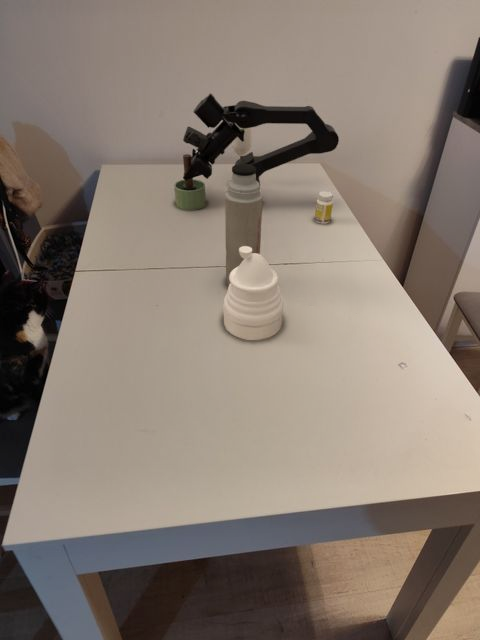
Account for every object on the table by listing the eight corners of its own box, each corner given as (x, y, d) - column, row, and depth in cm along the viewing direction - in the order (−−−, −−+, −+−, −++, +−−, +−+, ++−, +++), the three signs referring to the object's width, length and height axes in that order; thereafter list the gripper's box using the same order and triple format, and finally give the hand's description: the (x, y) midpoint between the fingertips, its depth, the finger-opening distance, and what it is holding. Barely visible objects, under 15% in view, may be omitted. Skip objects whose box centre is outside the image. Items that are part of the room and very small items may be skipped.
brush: (199, 197, 140) (196, 155, 132) (191, 202, 138) (188, 158, 129) (189, 194, 142) (186, 152, 133) (181, 198, 139) (177, 155, 130)
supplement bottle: (329, 217, 138) (334, 191, 132) (330, 224, 134) (334, 197, 129) (314, 216, 138) (317, 189, 133) (314, 223, 135) (317, 196, 129)
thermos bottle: (261, 276, 112) (267, 162, 93) (254, 294, 106) (259, 176, 87) (230, 272, 113) (230, 158, 94) (222, 289, 107) (220, 171, 88)
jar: (181, 195, 145) (180, 177, 141) (209, 199, 144) (208, 181, 140) (171, 207, 138) (169, 188, 134) (200, 211, 137) (199, 192, 133)
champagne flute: (228, 181, 156) (228, 105, 140) (246, 179, 158) (249, 104, 142) (233, 188, 151) (234, 111, 135) (252, 187, 153) (255, 110, 137)
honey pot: (230, 344, 92) (229, 269, 80) (218, 307, 101) (216, 235, 89) (289, 335, 95) (297, 262, 83) (272, 300, 104) (277, 230, 92)
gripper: (200, 108, 131) (166, 147, 138) (197, 127, 118) (159, 169, 124) (227, 137, 137) (193, 173, 144) (227, 159, 123) (190, 197, 130)
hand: (184, 177), depth 135 cm, fingers closed on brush, 2 cm apart
